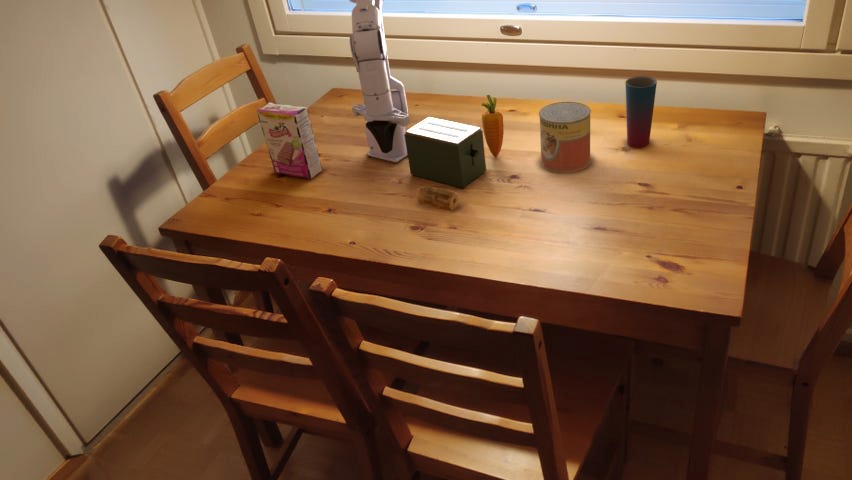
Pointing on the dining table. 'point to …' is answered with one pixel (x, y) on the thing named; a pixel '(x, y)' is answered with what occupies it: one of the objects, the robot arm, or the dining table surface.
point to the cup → (639, 109)
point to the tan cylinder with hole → (438, 197)
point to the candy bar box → (290, 140)
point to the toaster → (445, 152)
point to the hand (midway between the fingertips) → (387, 151)
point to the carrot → (493, 126)
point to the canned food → (565, 136)
